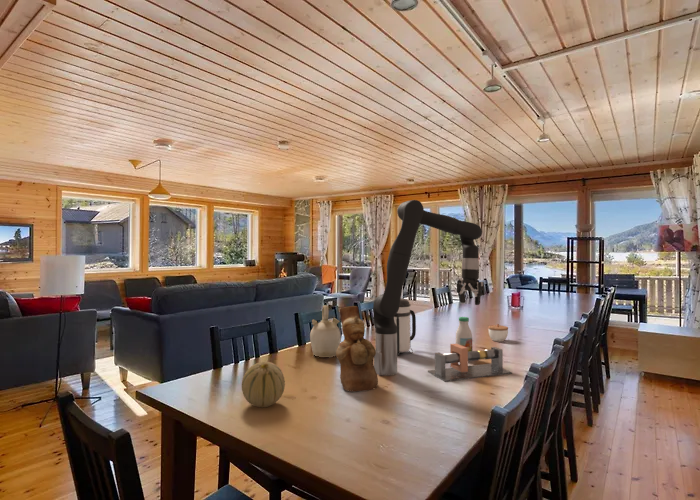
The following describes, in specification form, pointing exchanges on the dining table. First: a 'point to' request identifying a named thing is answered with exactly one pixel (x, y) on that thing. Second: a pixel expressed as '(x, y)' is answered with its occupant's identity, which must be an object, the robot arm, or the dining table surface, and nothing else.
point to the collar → (463, 357)
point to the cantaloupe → (263, 384)
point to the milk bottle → (464, 333)
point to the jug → (325, 336)
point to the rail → (474, 370)
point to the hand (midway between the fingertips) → (470, 303)
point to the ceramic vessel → (355, 353)
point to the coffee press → (404, 326)
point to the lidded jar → (498, 332)
